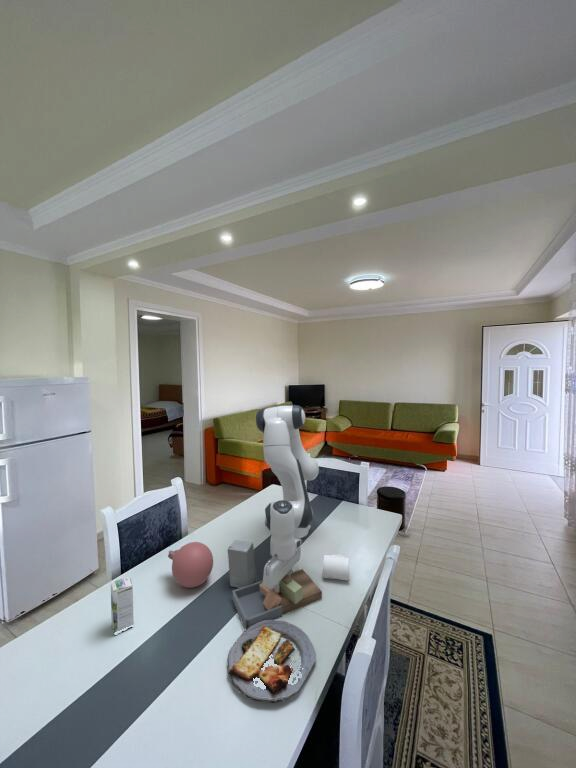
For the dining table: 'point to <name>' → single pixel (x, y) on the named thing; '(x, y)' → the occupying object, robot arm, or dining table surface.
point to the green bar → (291, 589)
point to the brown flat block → (308, 590)
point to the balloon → (191, 564)
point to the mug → (336, 567)
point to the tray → (253, 605)
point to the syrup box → (122, 603)
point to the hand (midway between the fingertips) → (282, 585)
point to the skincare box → (241, 563)
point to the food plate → (256, 651)
